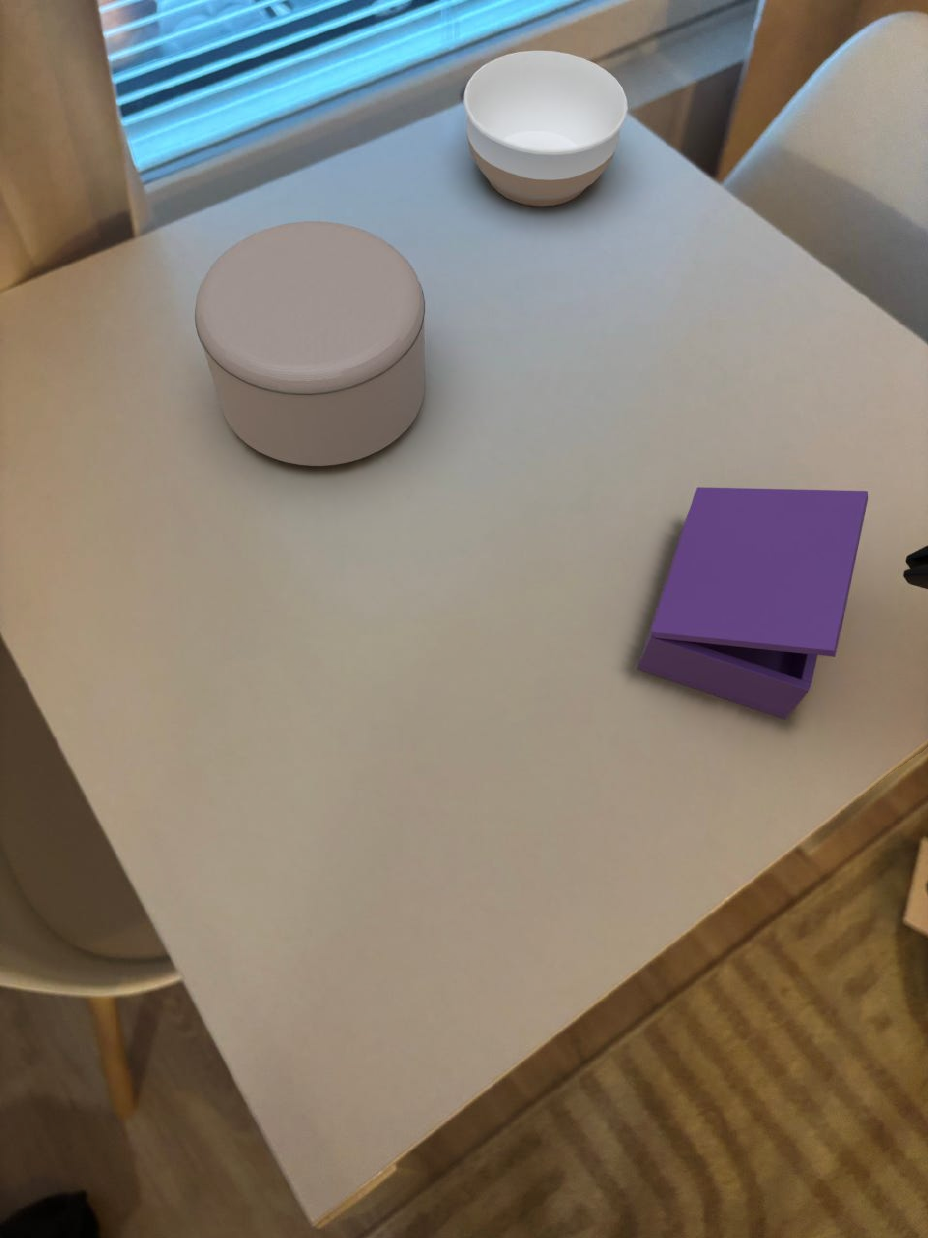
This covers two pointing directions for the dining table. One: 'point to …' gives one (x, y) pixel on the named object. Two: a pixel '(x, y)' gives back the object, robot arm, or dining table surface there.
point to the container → (314, 341)
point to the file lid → (763, 569)
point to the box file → (731, 669)
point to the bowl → (543, 124)
